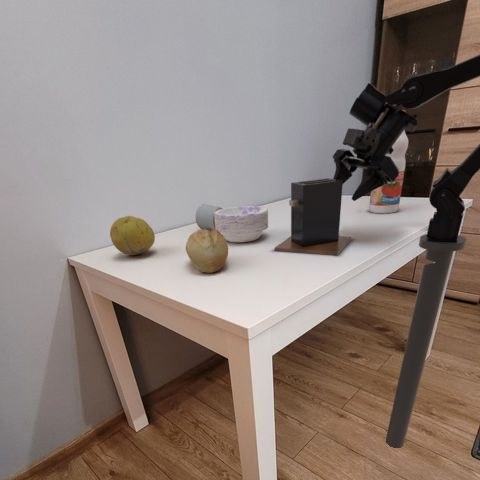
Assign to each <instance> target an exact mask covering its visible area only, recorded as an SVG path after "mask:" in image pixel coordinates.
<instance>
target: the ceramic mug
mask: <svg viewBox="0 0 480 480" xmlns="http://www.w3.org/2000/svg"><path fill="white" fill-rule="evenodd" d="M221 209H224V207H221V206H217V205H211V204H206V203H205V204H201V205H199V206H198V207H197V209H196V211H195V222H196V225H197V227H198V228H199V229H200V230H203V229H206V230H209V231H210V229H211V228H212V229H216V227H215V216H214V213H215V212H216V211H218V210H221Z"/></svg>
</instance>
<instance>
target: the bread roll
mask: <svg viewBox="0 0 480 480" xmlns="http://www.w3.org/2000/svg"><path fill="white" fill-rule="evenodd" d="M185 252H186V254H187V256H188V258H189V260H190V262H191V263H192V265H194V267H196V269H198V270H199V271H200V272H203V273H207V274H208V273H215V272H217V271H220V270H221V269H222V268H223V267H224V266H225V263H226V262H227V259H228V255H229V245H228V241H227V240H226V239H225V238H224V236H223V234H222V232H219V231H218V230H216V229H212V228H211V229H210V230H206V229H200V230H197V231H194V232H192V233H191V234H190V235H189V236H188V238H187V241H186V244H185Z"/></svg>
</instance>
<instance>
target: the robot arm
mask: <svg viewBox="0 0 480 480" xmlns="http://www.w3.org/2000/svg"><path fill="white" fill-rule="evenodd" d="M478 78H480V54H477V55H475V56H472V57H470V58H468V59H466V60H464V61H462V62H458V63H457V64H454V65H452V66H450V67H447V68H443V69H439V70H433V71H429V72H425V73H421V74H417V75H413V76H411V77H409V78H408V79H406V80H405V82H404V83H403V85H402V86H401V88H399V89H397V90H395V91H393V92H390V93H389V94H388V95H386V94H384V93H383V92H382V91H380V90H378V89H377V87H376V86H375V85H373V84H372V83H370V82H369V83H367V85H366V87H365V88H364V89H363V90H362V91H361V93H360V94H359V96H358V97H356V98H355V100H354V102H353V103H352V105H351V107H350V110H349V115H350V116H351V117H353V118H354V119H355V120H357V121H359V122H360V123H361V124H363V125H364V126H366V128H365V130H363V129H358V128H347V130H346V133H345V135H344V138H343V141H342V145H344V146H348V147H351V148H353V149H352V151H351V150H350V149H347V148H345V149H344V148H339V149H336V150H335V152H334V154H333V155H332V159H333V162H334V164H335V171H334V175H333V178H332V179H336V180H343V185H344V184H345V183H346V182H347V181H348V180H349V179H351V178H352V176H353V173H354V172H356V171H357V170H358V168H359V169H363V170H366V171H365V176H364V177H363V179H362V180H361V182H360V183H359V185H358V186H357V188H356V189H355V191H354V192H353V194H352V196H351V201H353V202H356V201H357V200H359V199H360V198H362V197H364V196H366V195H368V194H369V193H371V191H373V190H375V189H377V188H379V187H381V186H383V185H387V184H388V182H390V183H393V182H394V180H395V179H396V178H397V177H398V173H399V169H398V167H397V166H396V165H395V163H394V162H393V160H392V159H391V157H389V156H385V155H386V154H391V153H392V152H393V151H394V150H393V148H392V146H393V145H394V143H395V142H396V141H397V139H398V138H399V137H400V135H401V134H402V132H403V131H404V130H407V131H409V132H410V133H414V132H415V130H416V128H417V127H418V125H419V123H418V114H416V113H415V114H410V113H408V112H407V111H406V112H405V111H403V110H404V109H402V108H400V109H397V108H395V107H397V106H402V107H404V108H405V109H407V110H415V109H418V108H420V107H422V106H424V105H425V104H427V103H429V102H430V101H432V100H433V99H436V98H437V97H439V96H440V95H442V94H443V93H445V92H447V91H449V90H450V89H451V90H452V89H453V88H455V87H458V86H460V85H463V84H465V83H468V82H470V81H473V80H476V79H478ZM393 106H394V107H393ZM382 117H383V118H382ZM381 118H382V119H381ZM372 124H373V125H374V126H376V125H377V126H376V127H371V125H372ZM353 153H354V154H353ZM355 155H356V156H355ZM479 171H480V143H479V144H478V145H477V146H476V147H475V148H474V149H473V150H472V152H470V154H469V155H467V157H466V158H465V159H464V160H463V161H462V162H461V163H460V164H459V165H457V167H455V168H454V169H453V170H451V169H450V168H449V167H446V169H444V171H443V173H442V174H441V176H439V178H437V179H436V180H434V181H433V183H432V188H431V190H430V194H429V203H430V205H431V207H432V208H434V209H436V211H434V213H433V217H431V218H430V219H429V223H428V227H427V231H426V232H427V233H426V234H427V237H428V241H435V242H457V241H458V235H459V233H460V229H461V225H462V221H463V218H464V212H465V210H466V208H465V207H466V206H465V201H464V200H463V199H462V197H461V195H462V193H463V192H464V191H465V189H466V187H467V186H468V185H469V183H470V182H471V180H472V179H473V177H474V176H475V175H476V173H478V172H479Z"/></svg>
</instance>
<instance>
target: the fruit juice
mask: <svg viewBox="0 0 480 480" xmlns="http://www.w3.org/2000/svg"><path fill="white" fill-rule="evenodd" d="M402 110H403V111H405V112H406V113H407V111H406V109H402ZM405 130H406V129H405ZM405 130H404V131H403V132H402V134H401V135H400V137H399V138H398V139H397V141H396V142H395V143H394V145H393V146H392V148H393V150H394V151H393V152H392V153H391V154H386V155H385V156H389V157H391V159H392V160H393V162H394V163H395V165H396V166H397V167H398V169H399V173H398V177H397V178H396V179H395V180H394V182H393V183H390V182H388V184H387V185H383V186H381V187H379V188H377V189H375V190H373V191H371V192H370V195H369V205H368V211H369V212H370V213H374V214H391V213H396V212H398V210H399V208H400V202H401V196H402V190H403V183H404V177H405V171H406V153H407V150H408V148H409V138H408V136H407V134H406V131H405Z"/></svg>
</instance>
